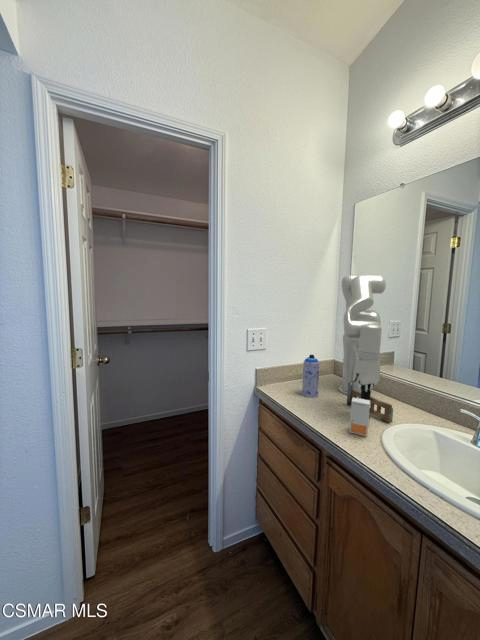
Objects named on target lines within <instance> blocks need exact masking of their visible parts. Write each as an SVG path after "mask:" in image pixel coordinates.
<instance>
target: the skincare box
mask: <svg viewBox="0 0 480 640" xmlns="http://www.w3.org/2000/svg"><path fill="white" fill-rule="evenodd" d="M370 403H371V402H370V400H364V399H359V397H357V398H352V402H351V406H350V416H349V418H350V420H349V429H348V430H349V432H348V433H350V434H351V433H352V434H356V435H359V436H364V437H368V431H369V421H370V420H369V419H370V413H369V409H370Z"/></svg>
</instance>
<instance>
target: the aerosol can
mask: <svg viewBox="0 0 480 640" xmlns="http://www.w3.org/2000/svg"><path fill="white" fill-rule="evenodd" d="M302 369H303V371H302V389H301V390H302V392H301V395H302V396H303V397H306V398H311V399H312V398H314V399H315V398H318V397H319V382H320V381H319V378H320V361H319V360H318V359H317V358H316V357H315V354H309V356H308V357H306V358H305V359H304V361H303V367H302Z"/></svg>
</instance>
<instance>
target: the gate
mask: <svg viewBox="0 0 480 640" xmlns="http://www.w3.org/2000/svg"><path fill="white" fill-rule="evenodd" d="M352 398H359V399H361V392H358V391H356V390H352ZM375 405H376V410H375ZM392 408H393V404H391V403H388V402H385V401H383V400H381V399H379V398H376V397H373V396H371V395H370V409H369V415H372V416H373V417H377V418H379V419H381V420H382V421H384V422H387V423H392V422H391V413H392ZM382 409H384V410H385V409H386V414H384V413H382Z"/></svg>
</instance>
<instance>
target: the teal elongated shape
mask: <svg viewBox="0 0 480 640" xmlns="http://www.w3.org/2000/svg"><path fill="white" fill-rule="evenodd" d="M353 387H354V383H348V391H347V394H346V406H349V407H351V402H352V390H353ZM383 414H386V409H385V408H384V411H383ZM393 416H394V408H393V407H392V413H391V422H390V423H392V422H393Z"/></svg>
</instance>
